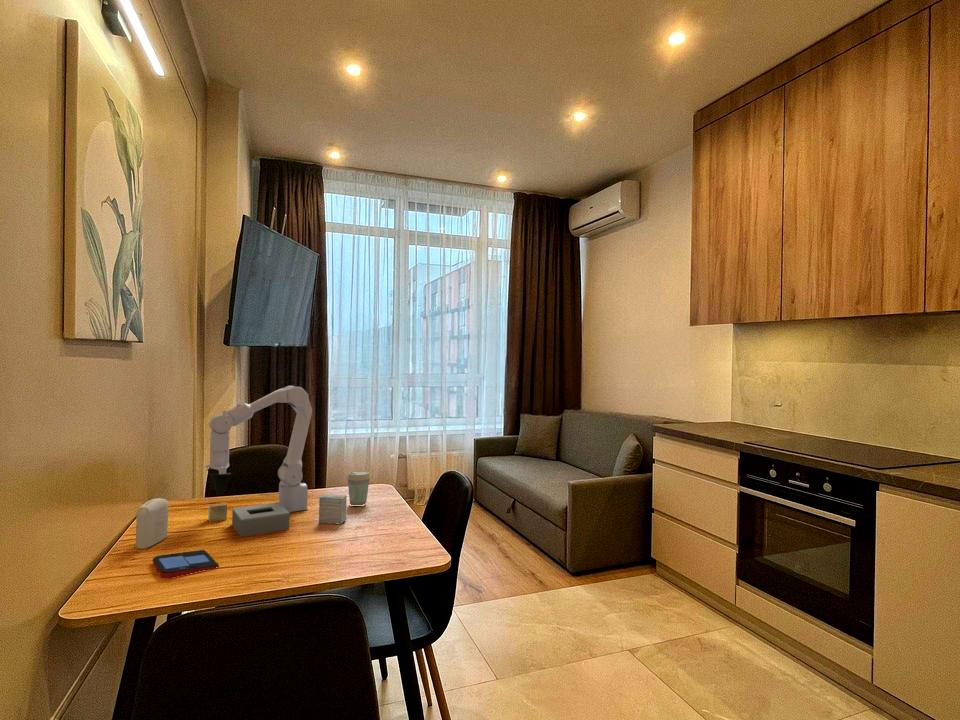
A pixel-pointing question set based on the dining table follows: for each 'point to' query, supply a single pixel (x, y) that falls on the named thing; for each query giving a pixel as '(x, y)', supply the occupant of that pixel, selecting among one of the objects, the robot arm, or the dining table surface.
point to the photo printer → (151, 523)
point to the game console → (183, 563)
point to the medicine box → (332, 508)
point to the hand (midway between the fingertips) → (218, 492)
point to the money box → (260, 519)
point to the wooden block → (217, 512)
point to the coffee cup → (358, 487)
